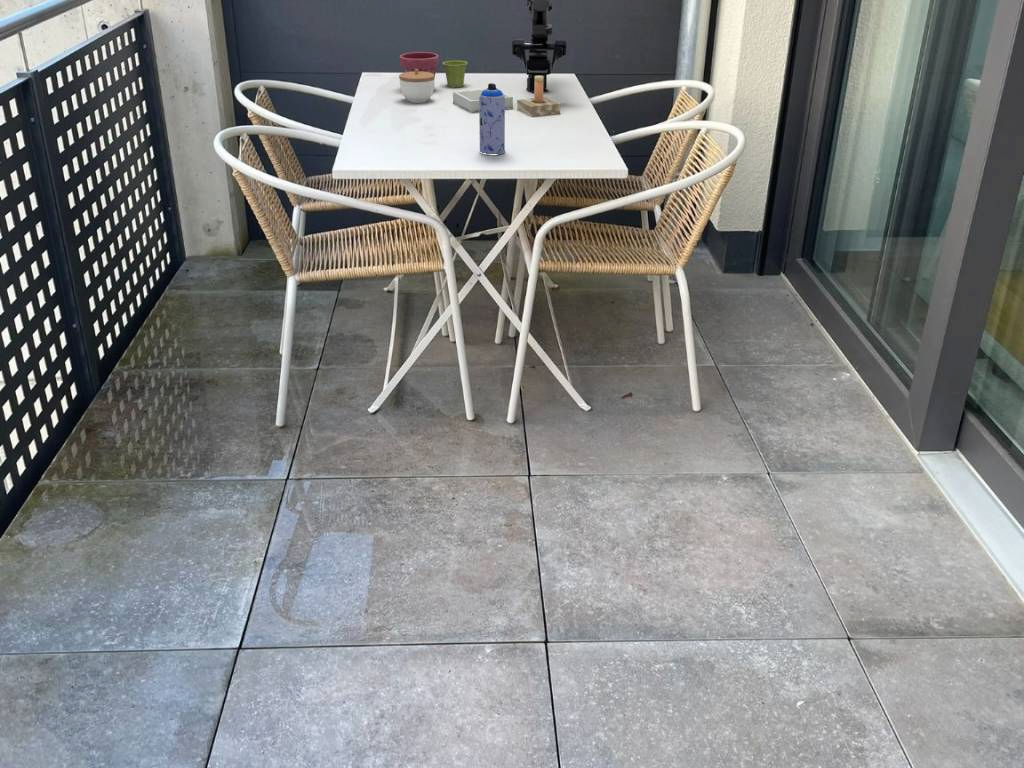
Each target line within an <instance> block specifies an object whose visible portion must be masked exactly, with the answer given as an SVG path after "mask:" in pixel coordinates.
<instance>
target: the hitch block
mask: <svg viewBox="0 0 1024 768" xmlns="http://www.w3.org/2000/svg"><path fill="white" fill-rule="evenodd" d="M516 104H517V106H516V107H517V108H516V110H517V111H518V112H520V113H522V114H525V115H527V116H529V117H530V118H532V117H542V116H543V117H544V116H552V115H560V114H561V103H560V102H558V101H555V100H554V99H551V98H549V97H547V96H543V103H534V97H533V98H523V99H517V103H516Z"/></svg>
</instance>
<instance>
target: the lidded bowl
mask: <svg viewBox="0 0 1024 768" xmlns="http://www.w3.org/2000/svg"><path fill="white" fill-rule="evenodd" d="M398 78H399V86H400V87H399V88H400V91H401V93H402V94H401V95H403V97H404V98H405V99H406V100H407V102H409V103H413V104H422V103H427V102H428V101H429V100H430V98H431V97H432V95H433V93H434V90H435V79H434V78H436V74H435V75H434V74H433V73H430V72H420V71H418V69H415V72H405V73H404V72H403V73H400V74H399V75H398ZM426 101H427V102H426Z"/></svg>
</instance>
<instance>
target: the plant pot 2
mask: <svg viewBox="0 0 1024 768" xmlns="http://www.w3.org/2000/svg"><path fill="white" fill-rule="evenodd" d="M442 65H443V68H444V72H445V79H446V84H447V86H448V87H449V88H462V87H464V84H465V74H466V68H467V65H468V61H464V60H448V61H443V62H442Z"/></svg>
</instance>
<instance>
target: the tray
mask: <svg viewBox="0 0 1024 768" xmlns="http://www.w3.org/2000/svg"><path fill="white" fill-rule="evenodd" d="M485 89H486V88H482V89H481V88H480V89H473V90H472V89H471V90H460V91H459V90H458V91H452V103H455V104H456V106H457V105H458V106H457V107H459V106H460V107H459V108H461V107H462V108H461V109H463V110H464V109H465V110H464V111H466V110H467V111H466V112H468V111H469V112H468V113H470V112H475V113H479V97H480V94H481V93H482V92H483V90H485ZM502 93H503V94H504V97H505V110H513V109H514V97H513V96H512V95H509V94H507V93H506V92H503V91H502ZM455 104H454V105H455Z"/></svg>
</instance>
